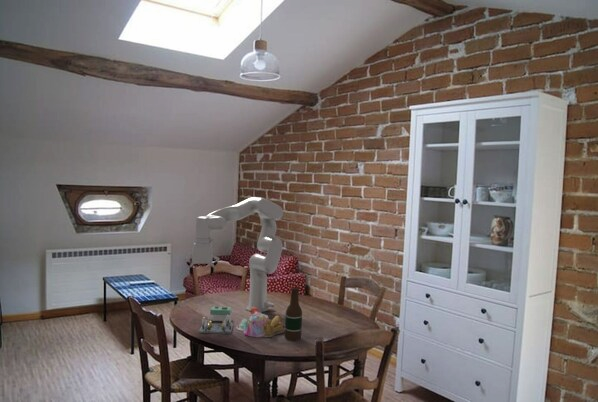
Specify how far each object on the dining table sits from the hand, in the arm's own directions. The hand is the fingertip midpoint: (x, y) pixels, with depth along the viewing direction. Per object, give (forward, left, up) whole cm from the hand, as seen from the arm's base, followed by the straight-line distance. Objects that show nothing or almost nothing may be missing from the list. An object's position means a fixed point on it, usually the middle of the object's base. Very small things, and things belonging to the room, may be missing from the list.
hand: (201, 274), depth 227 cm
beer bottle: (-47, +19, -25) cm, 56 cm away
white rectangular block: (-10, -5, -24) cm, 27 cm away
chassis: (-10, +10, -24) cm, 28 cm away
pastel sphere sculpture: (-31, +8, -25) cm, 41 cm away
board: (-10, -5, -21) cm, 24 cm away
